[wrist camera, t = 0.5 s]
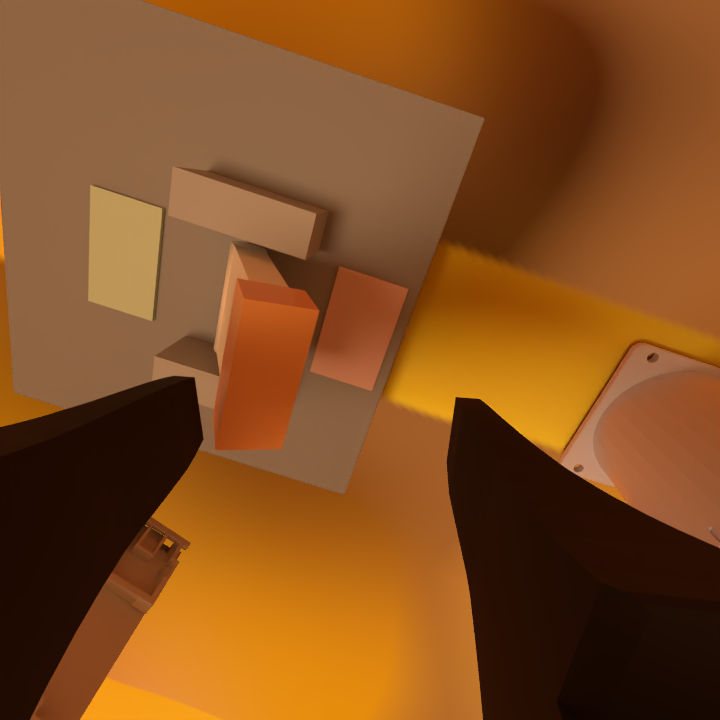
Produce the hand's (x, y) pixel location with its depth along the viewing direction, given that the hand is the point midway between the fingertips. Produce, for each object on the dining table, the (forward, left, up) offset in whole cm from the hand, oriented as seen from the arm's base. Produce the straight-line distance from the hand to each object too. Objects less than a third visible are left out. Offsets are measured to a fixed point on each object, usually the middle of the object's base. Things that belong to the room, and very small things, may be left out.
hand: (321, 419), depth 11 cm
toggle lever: (+5, 0, -6) cm, 8 cm away
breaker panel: (+7, 0, -10) cm, 12 cm away
